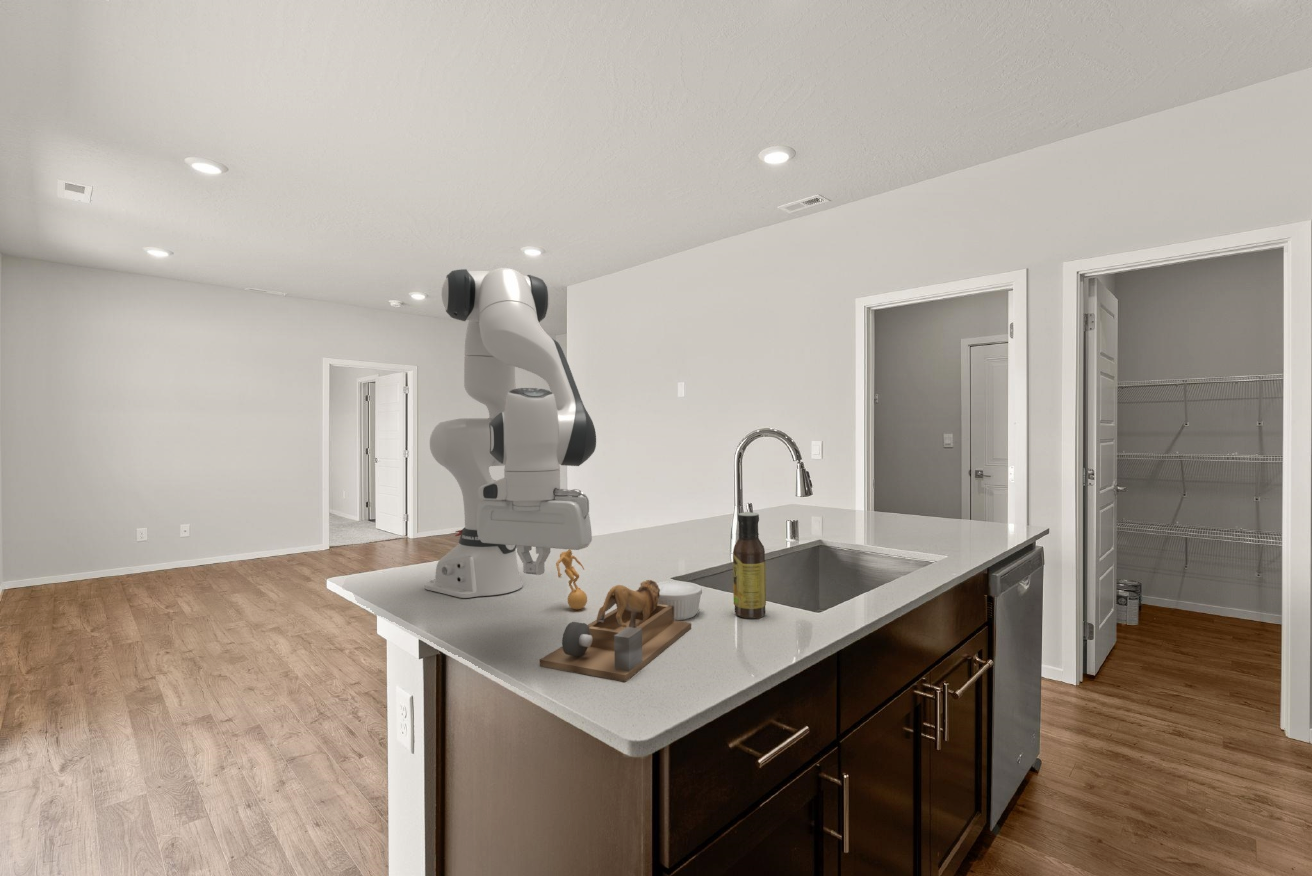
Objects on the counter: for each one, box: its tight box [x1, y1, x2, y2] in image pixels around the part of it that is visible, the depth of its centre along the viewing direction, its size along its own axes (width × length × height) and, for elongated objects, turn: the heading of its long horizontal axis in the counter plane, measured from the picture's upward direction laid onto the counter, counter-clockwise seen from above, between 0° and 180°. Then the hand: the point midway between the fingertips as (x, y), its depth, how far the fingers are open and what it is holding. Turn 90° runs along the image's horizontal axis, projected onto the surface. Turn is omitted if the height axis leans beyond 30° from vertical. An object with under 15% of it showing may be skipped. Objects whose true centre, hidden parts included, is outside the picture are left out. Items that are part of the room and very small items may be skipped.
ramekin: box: [656, 580, 703, 621], centre depth 123 cm, size 11×11×5 cm
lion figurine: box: [596, 579, 660, 628], centre depth 108 cm, size 15×5×9 cm, turn 146°
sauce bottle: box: [732, 511, 767, 619], centre depth 121 cm, size 6×6×20 cm
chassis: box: [539, 604, 692, 683], centre depth 105 cm, size 15×26×6 cm, turn 155°
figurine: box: [555, 549, 588, 611], centre depth 127 cm, size 8×6×12 cm
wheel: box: [561, 621, 592, 657], centre depth 97 cm, size 3×5×5 cm
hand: (534, 573), depth 101 cm, fingers closed
